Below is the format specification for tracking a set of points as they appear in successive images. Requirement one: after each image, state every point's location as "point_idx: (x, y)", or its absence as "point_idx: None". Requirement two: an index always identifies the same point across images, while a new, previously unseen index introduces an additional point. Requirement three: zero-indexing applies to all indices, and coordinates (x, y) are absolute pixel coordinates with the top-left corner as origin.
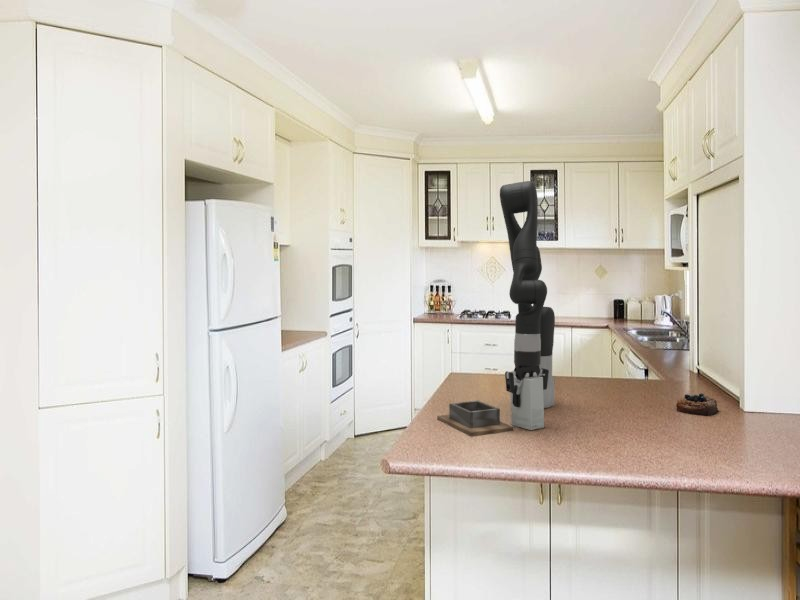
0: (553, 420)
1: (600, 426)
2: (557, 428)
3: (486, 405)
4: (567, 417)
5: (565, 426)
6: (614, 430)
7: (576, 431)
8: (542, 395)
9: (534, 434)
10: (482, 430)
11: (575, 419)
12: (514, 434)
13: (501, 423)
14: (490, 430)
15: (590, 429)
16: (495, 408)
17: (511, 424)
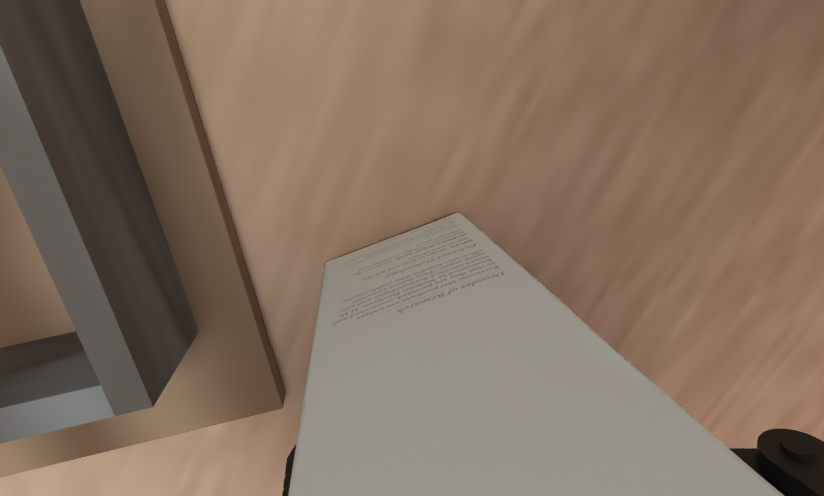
0: (672, 208)
1: (815, 382)
2: None
3: (26, 218)
4: (805, 154)
5: (649, 354)
6: None
7: None
8: None
9: None
10: (9, 462)
11: (811, 216)
12: (259, 467)
13: (222, 309)
14: (80, 456)
15: (729, 425)
16: (108, 380)
17: (324, 267)
